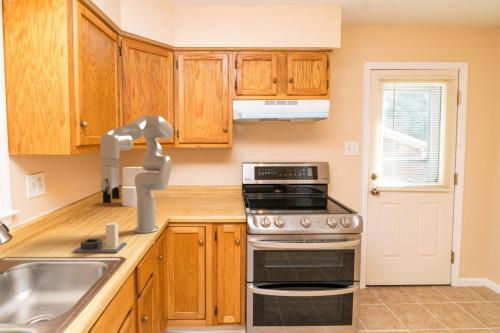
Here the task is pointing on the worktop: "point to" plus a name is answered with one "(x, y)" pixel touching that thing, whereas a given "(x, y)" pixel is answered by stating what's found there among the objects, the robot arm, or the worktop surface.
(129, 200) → the white tall block
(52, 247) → the worktop surface
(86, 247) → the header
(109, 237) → the plug
